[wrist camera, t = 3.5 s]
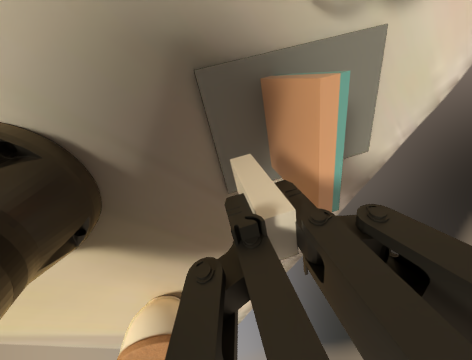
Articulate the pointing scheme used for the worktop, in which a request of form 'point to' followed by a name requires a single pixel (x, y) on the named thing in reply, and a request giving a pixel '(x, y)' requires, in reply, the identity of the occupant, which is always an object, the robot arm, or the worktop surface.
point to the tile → (308, 131)
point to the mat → (288, 62)
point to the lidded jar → (150, 330)
